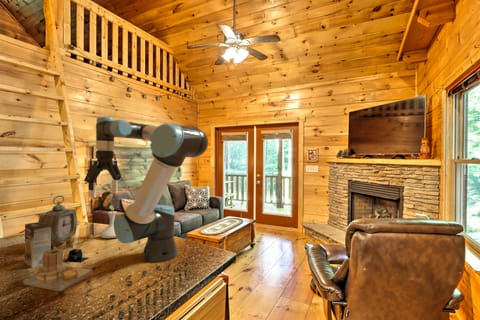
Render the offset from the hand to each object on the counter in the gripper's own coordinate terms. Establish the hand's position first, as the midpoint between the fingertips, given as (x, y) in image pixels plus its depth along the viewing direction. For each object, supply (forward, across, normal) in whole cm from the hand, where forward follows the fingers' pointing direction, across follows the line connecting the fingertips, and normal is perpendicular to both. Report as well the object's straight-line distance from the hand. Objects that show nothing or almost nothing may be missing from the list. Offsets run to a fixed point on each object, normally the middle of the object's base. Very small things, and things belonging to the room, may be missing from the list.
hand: (104, 195), depth 116 cm
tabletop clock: (+27, +1, -26) cm, 37 cm away
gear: (+25, +26, +2) cm, 36 cm away
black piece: (+28, +11, -4) cm, 30 cm away
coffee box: (+27, +18, -16) cm, 36 cm away
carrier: (+27, +26, +5) cm, 38 cm away
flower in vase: (+27, -18, -11) cm, 34 cm away
